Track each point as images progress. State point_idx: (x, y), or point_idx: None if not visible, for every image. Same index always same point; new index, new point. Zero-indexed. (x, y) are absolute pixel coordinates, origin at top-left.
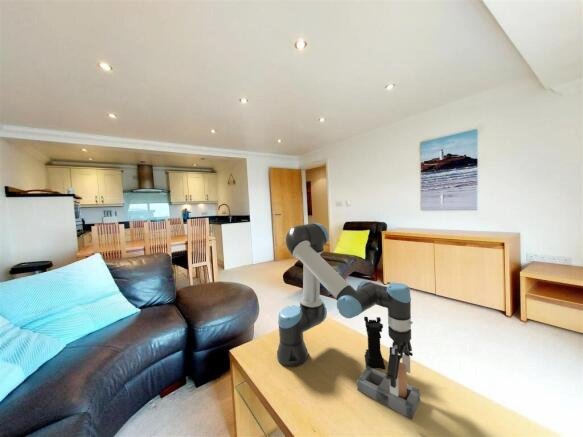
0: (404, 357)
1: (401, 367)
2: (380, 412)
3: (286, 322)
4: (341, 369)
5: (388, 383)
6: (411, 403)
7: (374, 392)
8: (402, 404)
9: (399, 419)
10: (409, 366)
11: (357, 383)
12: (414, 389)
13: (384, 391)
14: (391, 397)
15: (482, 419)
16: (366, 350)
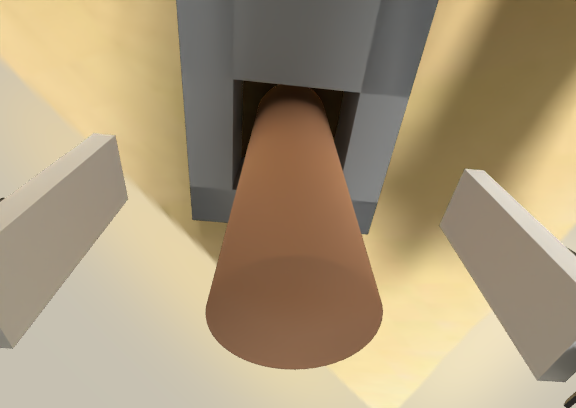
0: (554, 308)
1: (268, 333)
2: (120, 20)
3: None
4: None
5: (326, 36)
6: (229, 214)
7: None
8: (190, 171)
9: (162, 134)
10: (471, 272)
11: None
12: (356, 212)
13: (209, 29)
14: (188, 99)
15: (361, 353)
16: None
